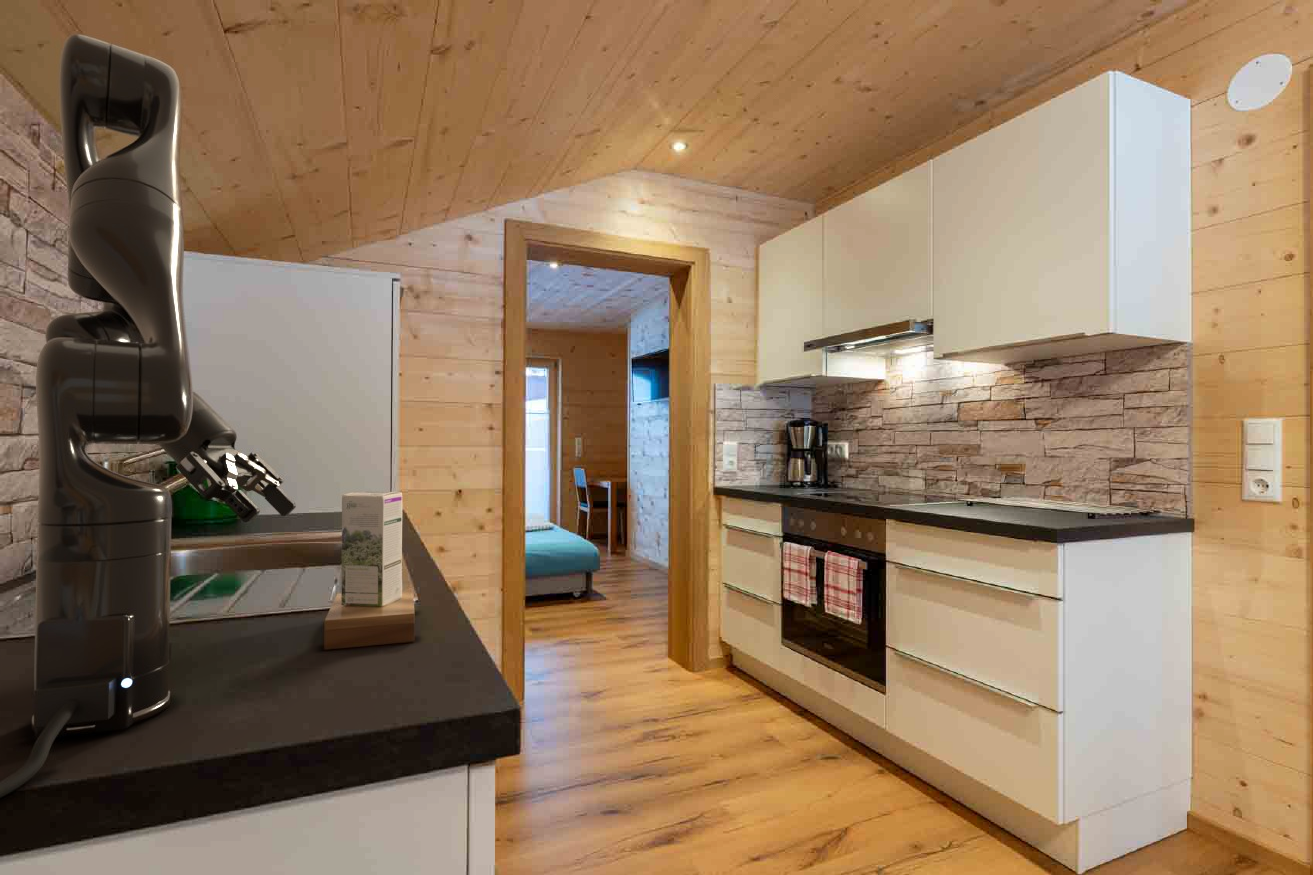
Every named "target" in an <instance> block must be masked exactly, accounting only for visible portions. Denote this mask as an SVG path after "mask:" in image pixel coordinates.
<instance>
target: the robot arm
mask: <svg viewBox="0 0 1313 875" xmlns="http://www.w3.org/2000/svg"><path fill="white" fill-rule="evenodd" d="M61 49H62V50H61V54H60V62H59V70H58V71H59V74H58V76H59V77H58V96H59V97H58V98H59V111H60V112H59V114H60V115H59V116H60V127H61V129H60V130H61V141H62V142H61V143H62V154H63V166H64V174H65V175H64V176H65V182H66V190H67V201H68V215H69V224H68V226H69V227H68V253H67V254H68V255H67V256H68V257H67V260H68V261H67V283H68V287H69V289H70V290H71V291H72V292H73V293H74V294H76V295H77V296H80V297H82V298H84V299H87V300H91V301H95V302H99V303H100V302H101V303H103V307H102V310H99V311H98V310H97V311H88V312H77V313H67V314H66V313H65V314H63V315H59V316H56V317H55V318H53V319H52V320H51V321H50V322H49V323H48V324H47V327H46V329H45V342H46V343H44V345H43V347H42V348H41V350H40V352H39V354H38V358H37V363H36V372H35V399H36V416H37V417H36V418H37V432H38V453H39V461H38V462H39V463H38V464H39V466H38V467H39V468H38V469H39V470H38V473H39V474H38V476H39V477H38V500H37V501H38V502H37V523H38V524H37V525H36V526H37V530H36V533H37V534H36V563H35V564H36V565H35V566H36V567H35V612H34V613H35V618H34V627H35V628H34V661H33V662H34V669H33V682H34V683H33V715H32V717H31V731H32V732H33V733H34V740H36V741H35V743H34V744H33V747H32V749H31V752H30V755H29V756H28V758H27V761H26V762H25V763H24V764H23V765H22V766H21V767H20V768H18V769H17V770H16V771H15V772H14V773H12V774H10V775H9V776H8V777H6V778H4V779H2V780H1V781H0V799H1V798H3V797H5V796H8V795H9V794H10V793H13V792H14V791H15V790H17V789H18V788H20V787H22V786H23V785H24V784H25V783H27V782H28V781H29V780H31V779H32V778H33V777H34V776H35V775H36V774H37V773H38V772H39V771H40V770H41V769H42V767H43V766H44V764H45V763H46V760H47V758H48V756H49V753H50V750H51V747H52V746H53V743H54V741H55V740H56V738H61V737H71V736H79V735H88V734H96V733H103V732H113V731H121V730H127V729H128V728H130V726H132V725H133V724H135V723H138V722H141V721H143V720H146V719H148V718H151V717H153V716H155V715H157V714H159V713H160V712H163V711H164V710H165V709H167V707H168V706H170V703H171V690H170V661H172V643H171V642H170V628H171V627H170V626H171V624H170V623H171V620H170V619H171V564H172V563H171V562H172V559H171V558H172V515H173V514H172V512H173V500H172V499H173V498H172V497H173V496H172V493H171V491H170V490H169V489H168V488H167V487H165V486H163V485H160V484H158V483H153V482H149V481H146V480H141V479H137V478H133V477H130V476H127V475H123V474H121V473H119V472H115V471H113V470H111V469H109V468H107V467H105V466H104V465H101V464H100V463H99V462H97V461H95V460H94V459H93V458H92V457H91V456H90V455H89V453H88V451H87V448H88V446H89V445H90V444H95V445H137V444H139V445H158V446H160V447H161V449H162V450H164V452H165V453H166V454H167V455H168V456H169V457H171V459H172V460H173V461H174V462H175V463H176V464H177V465H176V466H175V467H176V469H177V470H178V472H179V473H180V474H181V475H182V476H183V477H184V478H185V479H186V480H187V481H188V483H190V484H191V486H192V487H194V489H195V490H196V491H197V492H198V493H199V494H200V495H201V496H202V497H203V498H204V499H205V500H206V501H211V500H212V499H215V500H216V501H217V502H219V503H221V504H225V505H226V506H227V507H228V508H229V509H230V510H231V511H232V512H233V513H234V514H235V515H236V516H237V517H238V518H239V519H240V520H241V521H242V522H243V523H249V522H252V521H253V520H254V519H255V518H256V517H257V516H258V515H259V514H260V512H261V509H260V507H258V505H256V504H255V503H254V501H253V500H252V499H251V498H249V496H247V495H246V493H244V491H245V492H252V491H253V492H255V493H256V494H258V495H259V496H261V497H263V498H264V499H265V500H266V502H268V503H269V505H270V506H271V507H272V508H273V509H274V510H275V511H276V512H277V513H278V514H279V515H280V516H282V517H285V516H288V515H290V514H291V513H292V511H294V510H295V509H296V507H297V504H296V503H295V501H294V500H293V499H292V498H290V496H289V495H288V494H286V492H285V490H283V489H282V488H281V487H280V486H281V485H282V484H283V483H284V482H285V480H284V478H282V476H281V475H280V474H278V472H276V471H275V469H274V468H273V467H271V466H270V465H269V464H268V463H267V462H266V461H265V460H264V459H263V458H262V457H261V456H260V455H259V454H258V453H257V452H254V451H251V452H250V453H249V454H248V455H246V454H244V453H242V452H240V451H238V450H237V449H236V448H235V444H236V441H237V438H238V436H237V432H236V431H235V430H234V429H233V428H232V427H231V426H230V425H229V423H227V422H226V421H225V419H223V417H222V416H220V415H219V413H217V412H216V411H215V409H213V407H212V406H211V405H209V403H208V402H207V401H205V399H204V398H202V397H201V396H200V395H199V394H198V393H196V392H195V391H194V390H193V388H194V387H193V377H192V367H191V366H192V365H191V360H190V351H189V350H190V349H189V343H188V342H189V341H188V334H187V325H186V316H185V307H184V306H185V305H184V261H185V227H184V226H185V225H184V224H185V223H184V213H183V210H184V209H183V199H182V189H181V174H180V172H181V170H180V162H181V161H180V159H181V144H182V143H181V142H182V128H183V116H184V114H183V113H184V108H183V107H184V96H183V95H184V94H183V89H182V83H181V80H180V78H179V76H178V74H177V72H176V70H175V69H174V68H173V67H172V66H170V65H169V64H167V63H166V62H164V61H162V60H160V59H157V58H155V57H153V56H150V55H147V54H144V53H141V52H139V51H134V50H132V49H129V48H126V47H123V46H120V45H117V44H114V43H110V42H108V41H106V40H105V41H104V40H101V39H98V38H95V37H92V36H89V35H85V34H81V33H74V34H71V35H69V36H68V37H67V39H65V41H64V43H63V47H62V48H61ZM97 128H101V129H105V130H108V131H112V132H116V133H120V134H123V135H128V136H130V137H131V136H132V137H135V138H136V139H135V140H134V141H133V142H131V143H129V144H128V145H126V146H124V147H122V148H119V149H117V150H116V151H114V152H112V153H110V154H108V155H106V156H104V157H103V158H101V156H100V153H99V148H98V143H97V137H96V136H97V135H96V129H97ZM205 481H206V483H207V486H208V487H207V486H206V484H204V482H205ZM239 488H240V489H239ZM241 489H242V490H241Z"/></svg>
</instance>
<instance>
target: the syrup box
mask: <svg viewBox="0 0 1313 875" xmlns="http://www.w3.org/2000/svg"><path fill="white" fill-rule="evenodd" d="M402 589H403V492H401V491H353V492H347V493H344V494H341V593H342V594H341V596H342V597H341V604H342V605H348V606H385V605H388V604H390V603H392V602H394V601H396V600H398V599H400V598H402Z"/></svg>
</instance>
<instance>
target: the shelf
mask: <svg viewBox="0 0 1313 875" xmlns="http://www.w3.org/2000/svg"><path fill="white" fill-rule="evenodd" d="M341 594H342V592H337V593H336V595H335V597H334V599H333V601H332V603H331V606H330V608H329V610H328V612H327V614H326V617H325V618H324V621H323V622H324V628H323V629H324V631H323V633H324V634H323V650H324V651H326V650H327V651H328V650H339V649H349V648H360V647H361V648H362V647H369V646H370V647H372V646H380V645H393V644H403V643H404V644H405V643H414V642H415V620H416V617H415V616H416V615H415V614H416V613H415V600H414V588H413V587H411V588H402V598H400V599H398V600H396V601H394V602H392V603H390V604H388V605H385V606H348V605H342V604H341V597H342V596H341Z"/></svg>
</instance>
